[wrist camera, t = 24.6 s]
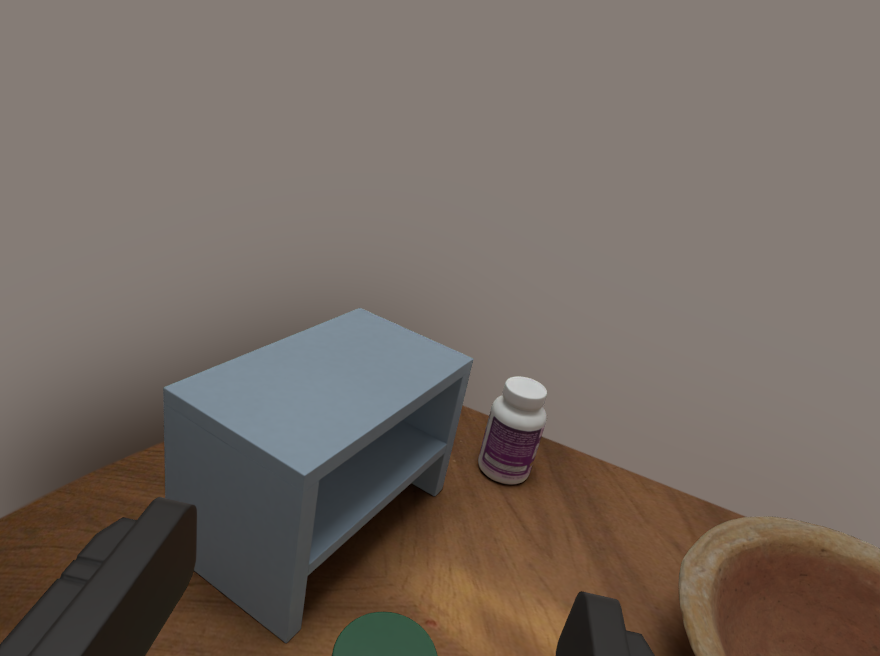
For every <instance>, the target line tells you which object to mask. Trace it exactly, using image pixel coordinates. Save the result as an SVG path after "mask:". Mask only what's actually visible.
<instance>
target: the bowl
mask: <svg viewBox="0 0 880 656" xmlns="http://www.w3.org/2000/svg"><path fill="white" fill-rule="evenodd" d="M679 600H680V608H681V612H682V617H683V623H684V627H685V630H686V633H687V636H688V639H689V643H690V646H691V648H692V650H693V652H694V654H695V656H880V548H877V547H875V546H873V545H871V544H869V543H867V542H864V541H862V540H859V539H857V538H855V537H852V536H850V535H846V534H844V533H841V532H839V531H836V530H833V529H830V528H827V527H823V526H819V525H815V524H811V523H807V522H803V521H798V520H794V519H787V518H779V517H744V518H739V519H734V520H730V521H727V522H725V523H722V524H720V525H717V526H716V527H714V528H712V529H710V530H709V531H708V532H706V533H705V534H704V535H703V536H702V537H701V538H700V539H699V540H698V541H697V542H696V543H695V544H694V545H693V546H692V547H691V549H690V550H689V551H688V553H687V554H686V555H685V557H684V559H683V561H682V563H681V568H680V573H679Z"/></svg>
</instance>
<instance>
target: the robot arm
mask: <svg viewBox="0 0 880 656" xmlns="http://www.w3.org/2000/svg"><path fill="white" fill-rule="evenodd" d="M196 550H197V509H196V506H195V505H192V504H188V503H184V502H179V501H175V500H170V499H166V498H162V497H158V498H156V499H155V500H153V501H152V502H151V504H150V505H149V506H148V507H147V508H146V510H145V511H144V512H143V513H142V515H141V516H140V517H139V518H138V520H133V519H128V518H124V517H123V518H121V519H119V520H118V521H116V522H115V523H113V524H111V525H110V526H108V527H107V528H105V529H103V530H102V531H100V532H99V533H97V534H96V535H95V536H94V537H93V538H92V540H91V541H90V542H89V543H88V544H87V545H86V546H85V548H84V549H83V550H82V551H81V552H80V553H79V554H78V556H77V559H76V560H73V561H72V562H71V564H70V565H69V566H68V567H67V568H66V569H65V571H64V572H63V573H62V575H61V577H60V579H57V580H56V581H55V582H54V583H53V584H52V585H51V587H50V588H49V589H48V590H47V591H46V592H45V593H44V595H43V596H42V597H41V598H40V599H39V600H38V601H37V603H36V604H35V605H34V606H33V607H32V608H31V609H30V611H29V612H28V613H27V614H26V615H25V616H24V618H23V619H22V620H21V621H20V622H19V623H18V624H17V626H16V627H15V628H14V629H13V630H12V631H11V632H10V634H9V635H8V636H7V637H6V638H5V639H4V640H3V642H2V643H1V644H0V656H145V655H146V653H147V652H148V650H149V648H150V647H151V645H152V644H153V642H154V640H155V639H156V637H157V635H158V634H159V632H160V630H161V629H162V627H163V626H164V624H165V622H166V621H167V619H168V617H169V616H170V614H171V613H172V611H173V609H174V608H175V606H176V604H177V603H178V601H179V599H180V598H181V596H182V595H183V593H184V591H185V590H186V588H187V586H188V584H189V582H190V579H191V577H192V574H193V571H194V567H195V563H196ZM556 656H655V655H654V654H653V652H652V650H651V649H650V647H649V645H648V644H647V642H646V641H645V639H644V637H643V636H642V634H639V633H635V632H630V631H626V629H625V624H624V619H623V614H622V609H621V606H620V603H619V601H618V600H617V599H613V598H608V597H604V596H599V595H595V594H591V593H586V592H582V591H581V592H579V593H578V595H577V597H576V599H575V602H574V604H573V606H572V609H571V611H570V614H569V616H568V619H567V621H566V623H565V626H564V628H563V631H562V633H561V635H560V638H559V641H558V645H557V649H556Z"/></svg>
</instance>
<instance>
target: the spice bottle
mask: <svg viewBox="0 0 880 656" xmlns="http://www.w3.org/2000/svg"><path fill="white" fill-rule="evenodd" d="M332 656H437V652H436V649H435V646H434V644H433V642H432V640H431V638H430V637H429V635H428V634H427V633H426V631H425V630H424V629H423V628H422V627H421V626H420V625H418V624H417V623H416V622H415V621H413V620H411V619H410V618H407V617H405V616H403V615H400V614H397V613H392V612H375V613H370V614H366V615H363V616H361V617H359V618H357V619H355V620H354V621H352V622H351V623H350V624H349V625H348V626H346V627H345V628H344V630H343V631H342V632H341V633H340V635H339V637H338V638H337V640H336V643H335V645H334V649H333V653H332Z"/></svg>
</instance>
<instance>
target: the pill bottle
mask: <svg viewBox="0 0 880 656" xmlns="http://www.w3.org/2000/svg"><path fill="white" fill-rule="evenodd" d="M546 395H547V391H546V389H545V387H544V386H543V385H542V384H540V383H539V382H537V381H535V380H533V379H530V378H526V377H511V378H509V379H508V380H507V381H506V383H505V386H504V389H503V395H502V396H499V397H498V398H497V399H496V400H495V401H494V403H493V405H492V407H491V411H490V415H489V419H488V423H487V426H486V430H485V435H484V438H483V442H482V447H481V450H480V455H479V459H478V463H479V466H480V469H481V470H482V471H483V473H484V474H485V475H487V476H488V477H489V478H491V479H492V480H494V481H497V482H500V483H503V484H518V483H521V482H523V481H525V480H526V479H527V478H528V476H529V474H530V471H531V468H532V465H533V461H534V458H535V455H536V452H537V449H538V446H539V443H540V440H541V436H542V433H543V430H544V427H545V424H546V412H545V410H544V408H543V405H544V403H545V399H546Z"/></svg>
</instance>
